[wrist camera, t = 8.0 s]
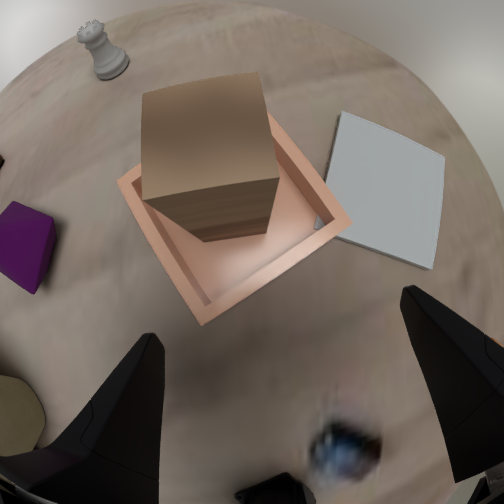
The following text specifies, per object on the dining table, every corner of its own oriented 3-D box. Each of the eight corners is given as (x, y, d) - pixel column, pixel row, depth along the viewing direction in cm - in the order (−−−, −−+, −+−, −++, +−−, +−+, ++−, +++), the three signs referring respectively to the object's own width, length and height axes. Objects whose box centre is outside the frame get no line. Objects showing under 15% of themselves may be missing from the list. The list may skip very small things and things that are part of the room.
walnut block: (266, 233, 23) (279, 177, 10) (204, 242, 23) (142, 200, 10) (257, 174, 23) (257, 71, 10) (197, 184, 23) (142, 93, 10)
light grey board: (426, 270, 23) (432, 269, 22) (311, 230, 23) (313, 228, 22) (439, 160, 24) (444, 157, 23) (339, 115, 24) (341, 110, 23)
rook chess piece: (129, 73, 25) (103, 29, 17) (96, 86, 25) (65, 47, 17) (131, 51, 26) (108, 9, 18) (99, 63, 26) (73, 25, 18)
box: (210, 318, 23) (201, 326, 19) (134, 193, 24) (116, 181, 20) (338, 231, 23) (353, 223, 20) (253, 118, 24) (252, 94, 21)
